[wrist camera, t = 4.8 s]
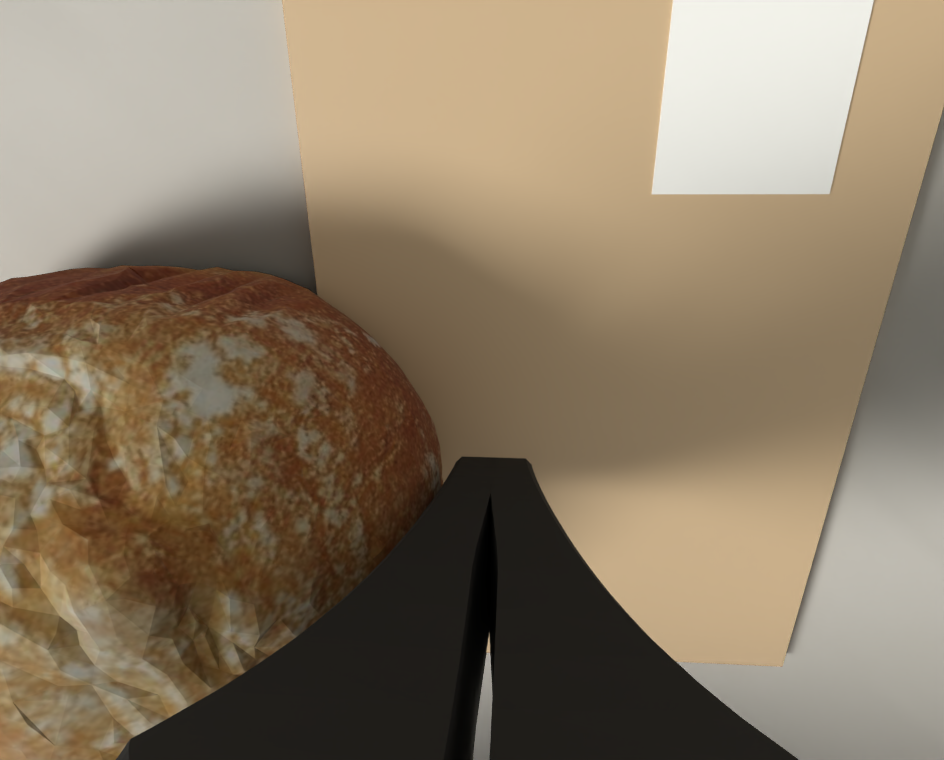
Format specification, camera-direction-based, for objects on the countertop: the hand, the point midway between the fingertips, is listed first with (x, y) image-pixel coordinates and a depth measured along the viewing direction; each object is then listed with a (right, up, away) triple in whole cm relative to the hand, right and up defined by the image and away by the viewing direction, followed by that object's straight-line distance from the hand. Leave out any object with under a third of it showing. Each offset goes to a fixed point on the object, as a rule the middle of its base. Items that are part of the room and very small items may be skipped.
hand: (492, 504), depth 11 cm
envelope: (+2, +3, +1) cm, 4 cm away
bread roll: (-6, 0, +2) cm, 6 cm away
